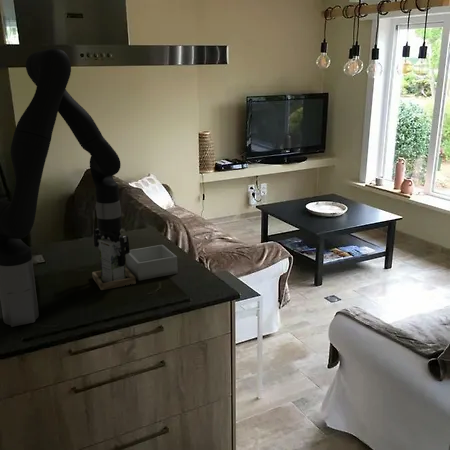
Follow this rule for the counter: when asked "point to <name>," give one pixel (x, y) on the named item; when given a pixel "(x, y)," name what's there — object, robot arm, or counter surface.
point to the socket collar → (114, 284)
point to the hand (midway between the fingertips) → (112, 262)
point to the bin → (151, 262)
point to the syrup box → (110, 262)
